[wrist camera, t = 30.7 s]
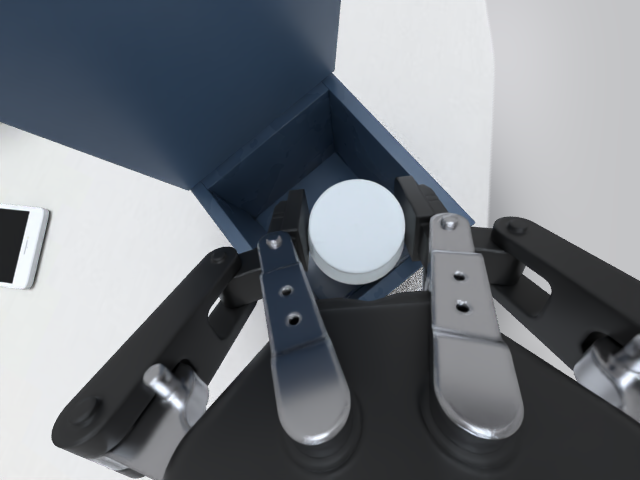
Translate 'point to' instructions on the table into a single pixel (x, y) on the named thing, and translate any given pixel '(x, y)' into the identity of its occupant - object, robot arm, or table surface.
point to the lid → (160, 75)
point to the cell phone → (20, 243)
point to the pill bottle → (356, 231)
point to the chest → (313, 176)
